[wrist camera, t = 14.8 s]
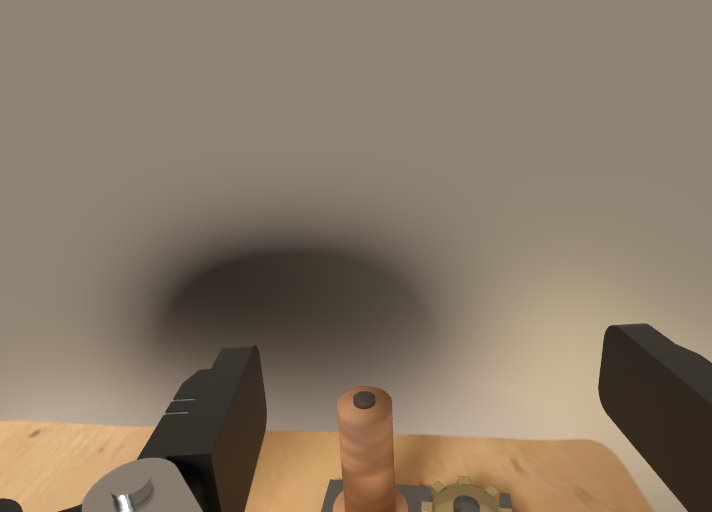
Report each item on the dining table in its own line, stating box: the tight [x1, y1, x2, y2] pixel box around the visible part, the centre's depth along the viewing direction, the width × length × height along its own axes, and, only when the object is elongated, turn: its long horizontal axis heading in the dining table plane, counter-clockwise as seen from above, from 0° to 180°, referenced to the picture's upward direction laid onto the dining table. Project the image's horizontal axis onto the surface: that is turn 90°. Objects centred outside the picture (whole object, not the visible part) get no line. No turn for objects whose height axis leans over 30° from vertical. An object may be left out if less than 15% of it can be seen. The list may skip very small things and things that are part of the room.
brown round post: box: [333, 386, 408, 512], centre depth 36 cm, size 6×6×12 cm
